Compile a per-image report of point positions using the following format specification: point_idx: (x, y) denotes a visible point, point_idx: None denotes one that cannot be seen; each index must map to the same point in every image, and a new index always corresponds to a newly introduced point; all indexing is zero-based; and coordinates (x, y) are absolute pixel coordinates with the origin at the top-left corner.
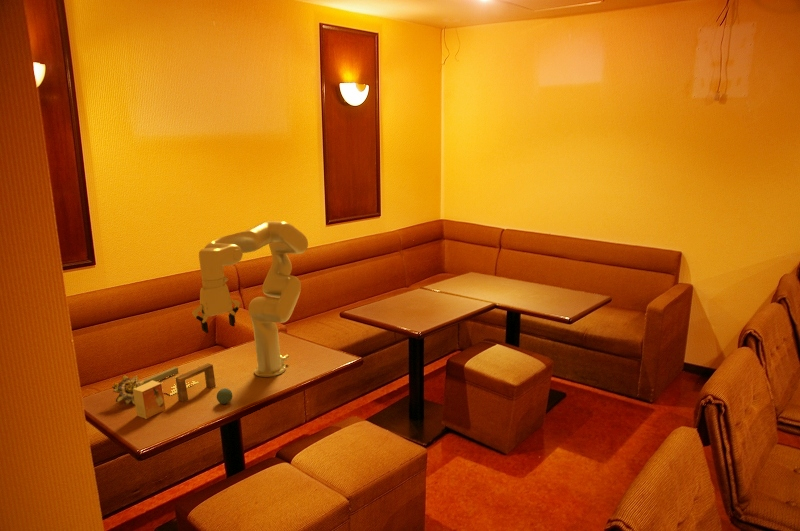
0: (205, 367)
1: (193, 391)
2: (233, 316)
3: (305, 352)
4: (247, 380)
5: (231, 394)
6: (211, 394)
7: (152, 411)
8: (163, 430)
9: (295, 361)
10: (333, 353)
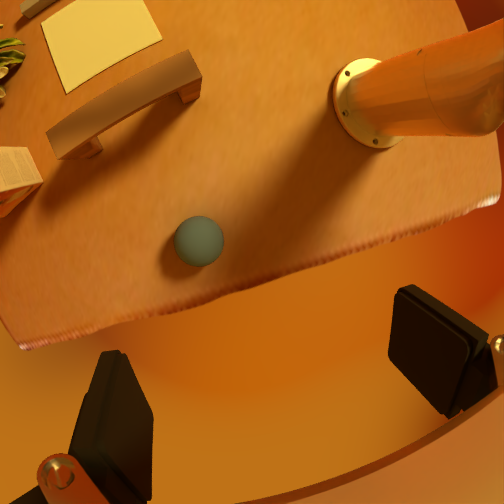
0: (167, 88)
1: None
2: (455, 409)
3: None
4: (300, 116)
5: (219, 255)
6: (173, 147)
7: (11, 207)
8: (43, 296)
9: None
10: None
